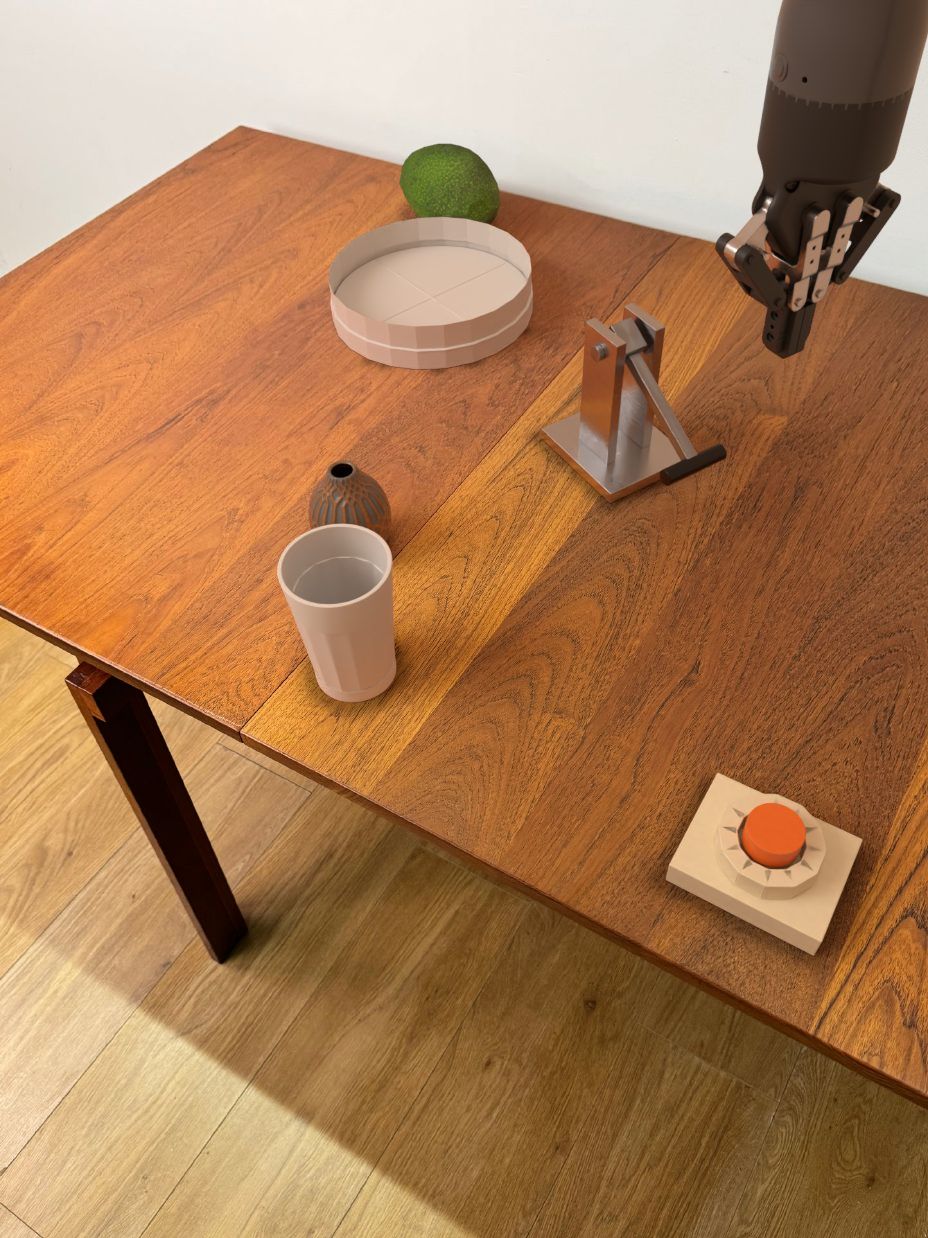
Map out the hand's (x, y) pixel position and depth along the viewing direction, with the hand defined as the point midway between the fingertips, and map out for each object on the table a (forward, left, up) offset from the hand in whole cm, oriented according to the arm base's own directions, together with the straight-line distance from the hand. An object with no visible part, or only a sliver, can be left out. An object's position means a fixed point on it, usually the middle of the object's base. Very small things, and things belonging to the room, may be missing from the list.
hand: (783, 349), depth 66 cm
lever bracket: (+15, -10, -22) cm, 29 cm away
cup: (+21, +23, -22) cm, 39 cm away
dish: (+43, -22, -22) cm, 53 cm away
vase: (+29, +12, -22) cm, 39 cm away
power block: (-12, +23, -22) cm, 34 cm away
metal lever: (+12, -8, -14) cm, 20 cm away
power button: (-12, +23, -18) cm, 32 cm away
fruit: (+51, -38, -22) cm, 67 cm away
